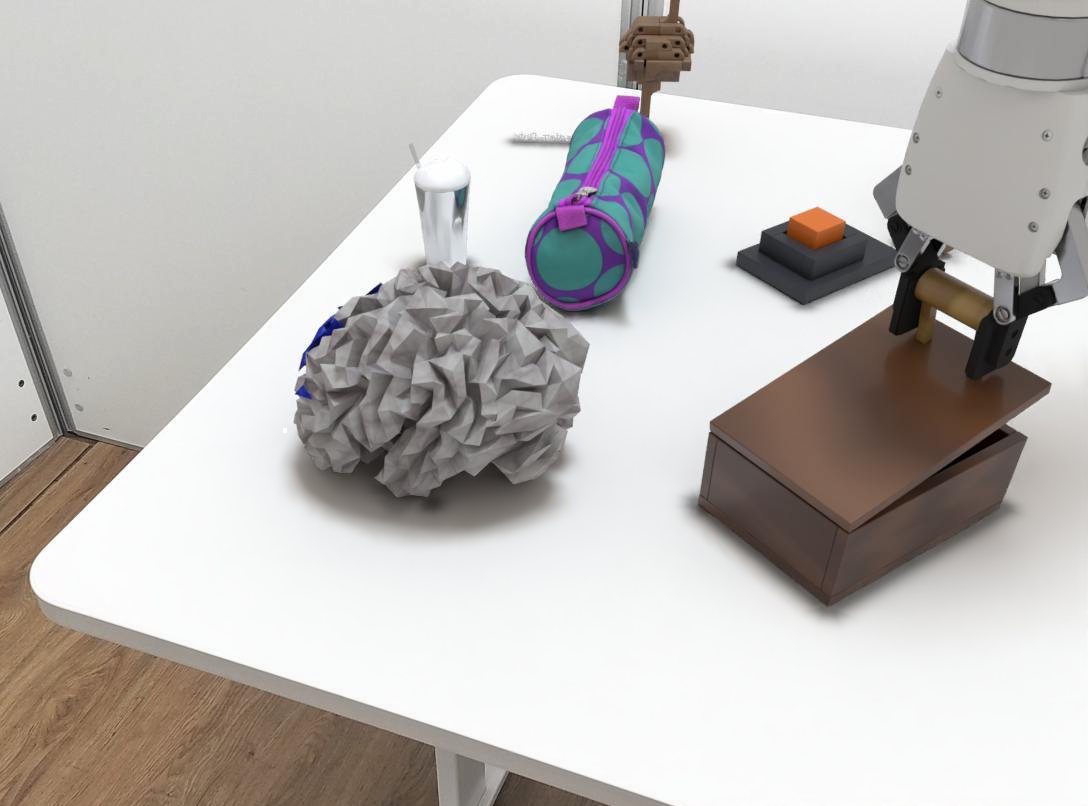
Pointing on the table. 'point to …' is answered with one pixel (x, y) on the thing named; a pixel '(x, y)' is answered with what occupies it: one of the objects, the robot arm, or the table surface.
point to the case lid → (880, 407)
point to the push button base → (814, 262)
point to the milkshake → (443, 208)
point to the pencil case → (597, 209)
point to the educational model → (441, 379)
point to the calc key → (816, 228)
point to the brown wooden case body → (876, 545)
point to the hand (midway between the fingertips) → (947, 345)
